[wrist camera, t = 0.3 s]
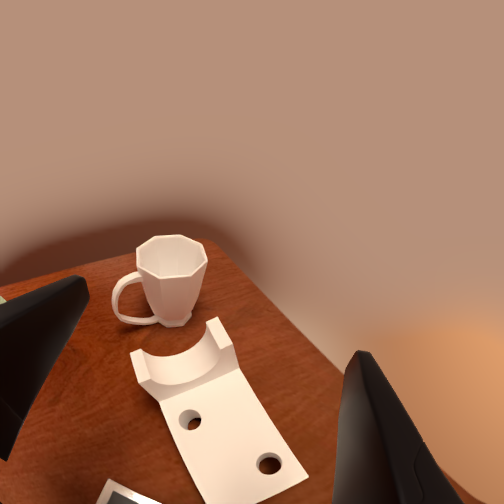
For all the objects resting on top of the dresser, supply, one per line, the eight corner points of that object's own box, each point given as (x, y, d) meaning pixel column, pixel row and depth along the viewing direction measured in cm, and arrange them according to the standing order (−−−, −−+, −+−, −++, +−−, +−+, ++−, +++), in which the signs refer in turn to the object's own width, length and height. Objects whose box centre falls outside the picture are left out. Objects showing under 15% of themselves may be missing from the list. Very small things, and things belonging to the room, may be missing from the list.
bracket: (163, 390, 23) (129, 353, 18) (231, 361, 26) (217, 316, 20) (223, 514, 15) (201, 525, 9) (304, 478, 17) (317, 474, 12)
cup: (216, 320, 31) (223, 262, 26) (135, 360, 24) (121, 303, 20) (182, 283, 34) (183, 226, 30) (108, 313, 28) (94, 254, 24)
